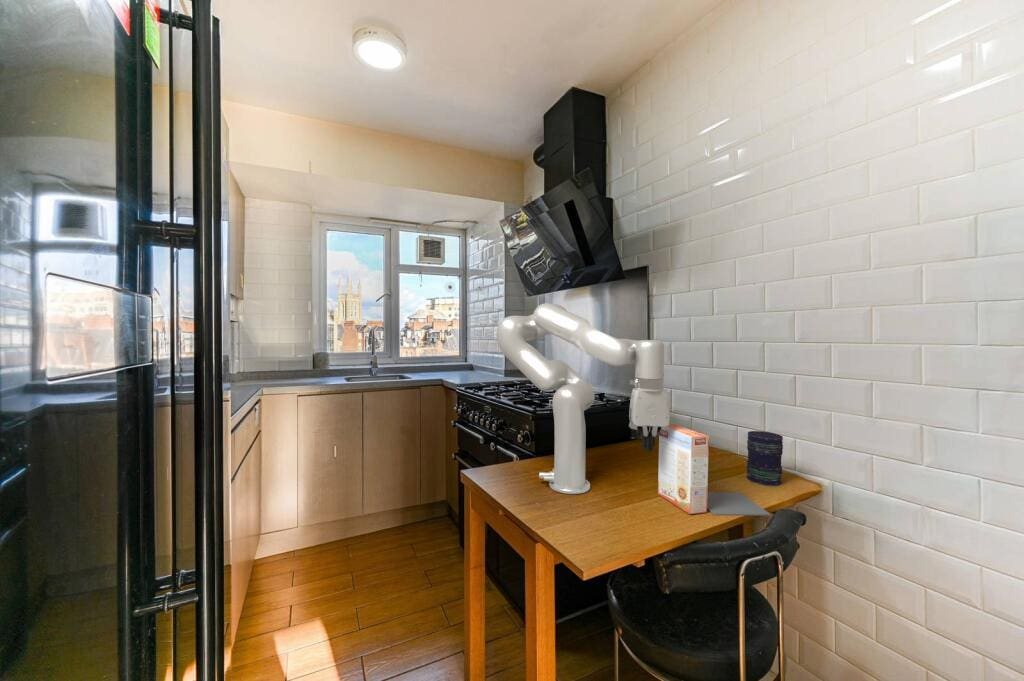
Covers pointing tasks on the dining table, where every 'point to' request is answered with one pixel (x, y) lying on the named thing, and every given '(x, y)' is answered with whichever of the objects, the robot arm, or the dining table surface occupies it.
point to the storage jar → (764, 458)
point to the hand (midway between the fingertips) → (648, 449)
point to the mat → (733, 504)
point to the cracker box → (683, 468)
